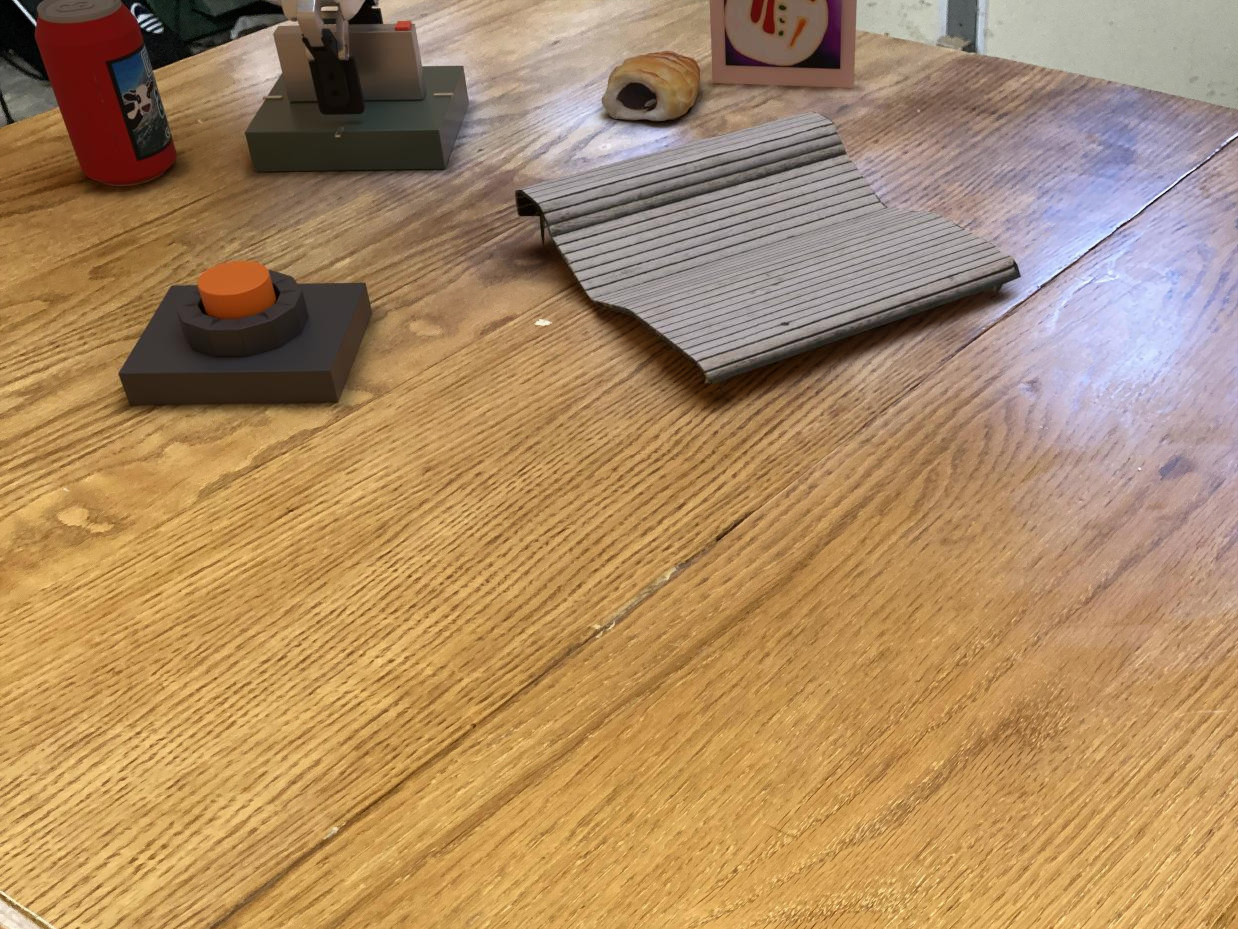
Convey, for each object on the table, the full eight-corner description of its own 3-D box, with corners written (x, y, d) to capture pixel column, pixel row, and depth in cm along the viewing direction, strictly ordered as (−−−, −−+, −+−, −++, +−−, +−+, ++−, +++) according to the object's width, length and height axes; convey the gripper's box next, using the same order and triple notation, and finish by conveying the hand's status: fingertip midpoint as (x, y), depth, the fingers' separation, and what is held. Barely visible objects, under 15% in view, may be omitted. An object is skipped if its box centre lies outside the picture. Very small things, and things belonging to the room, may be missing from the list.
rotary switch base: (249, 179, 103) (237, 136, 101) (295, 100, 114) (285, 60, 112) (444, 176, 103) (437, 133, 101) (472, 97, 114) (466, 57, 112)
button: (196, 322, 81) (188, 295, 80) (216, 287, 84) (208, 260, 83) (266, 321, 81) (258, 294, 80) (283, 286, 84) (276, 259, 83)
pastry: (643, 74, 117) (640, 26, 114) (721, 84, 115) (720, 36, 112) (597, 119, 110) (593, 69, 108) (679, 130, 108) (677, 80, 106)
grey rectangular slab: (288, 102, 106) (271, 30, 102) (293, 93, 107) (277, 22, 104) (423, 100, 106) (410, 27, 102) (426, 91, 107) (414, 20, 103)
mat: (707, 413, 80) (704, 339, 77) (519, 249, 95) (510, 182, 92) (1021, 294, 89) (1029, 224, 86) (805, 162, 104) (805, 98, 101)
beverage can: (184, 182, 103) (134, 11, 95) (86, 199, 101) (26, 26, 93) (176, 145, 108) (127, -20, 100) (82, 161, 106) (24, -6, 98)
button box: (129, 406, 82) (107, 345, 79) (181, 316, 89) (162, 258, 86) (338, 403, 81) (323, 342, 79) (372, 313, 89) (359, 255, 86)
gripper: (279, -203, 101) (331, 44, 112) (210, -134, 88) (277, 137, 100) (384, -205, 101) (426, 43, 112) (331, -137, 88) (384, 135, 100)
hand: (356, 86), depth 106 cm, fingers open, 8 cm apart
